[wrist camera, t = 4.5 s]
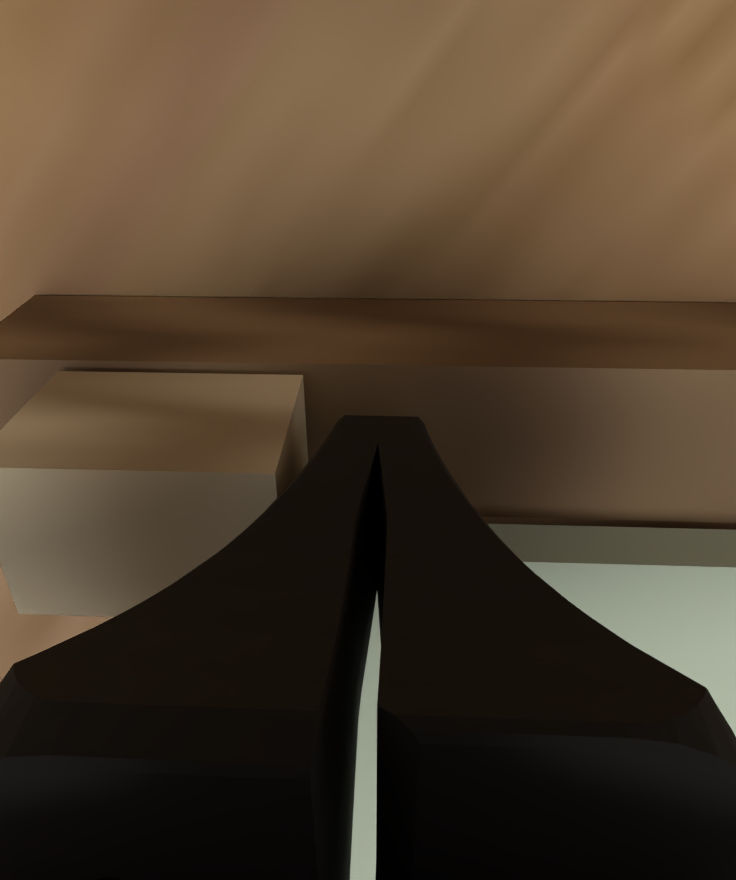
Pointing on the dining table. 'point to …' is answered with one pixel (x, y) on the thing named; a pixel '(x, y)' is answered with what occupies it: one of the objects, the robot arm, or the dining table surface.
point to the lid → (600, 620)
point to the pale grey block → (138, 481)
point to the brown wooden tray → (454, 387)
